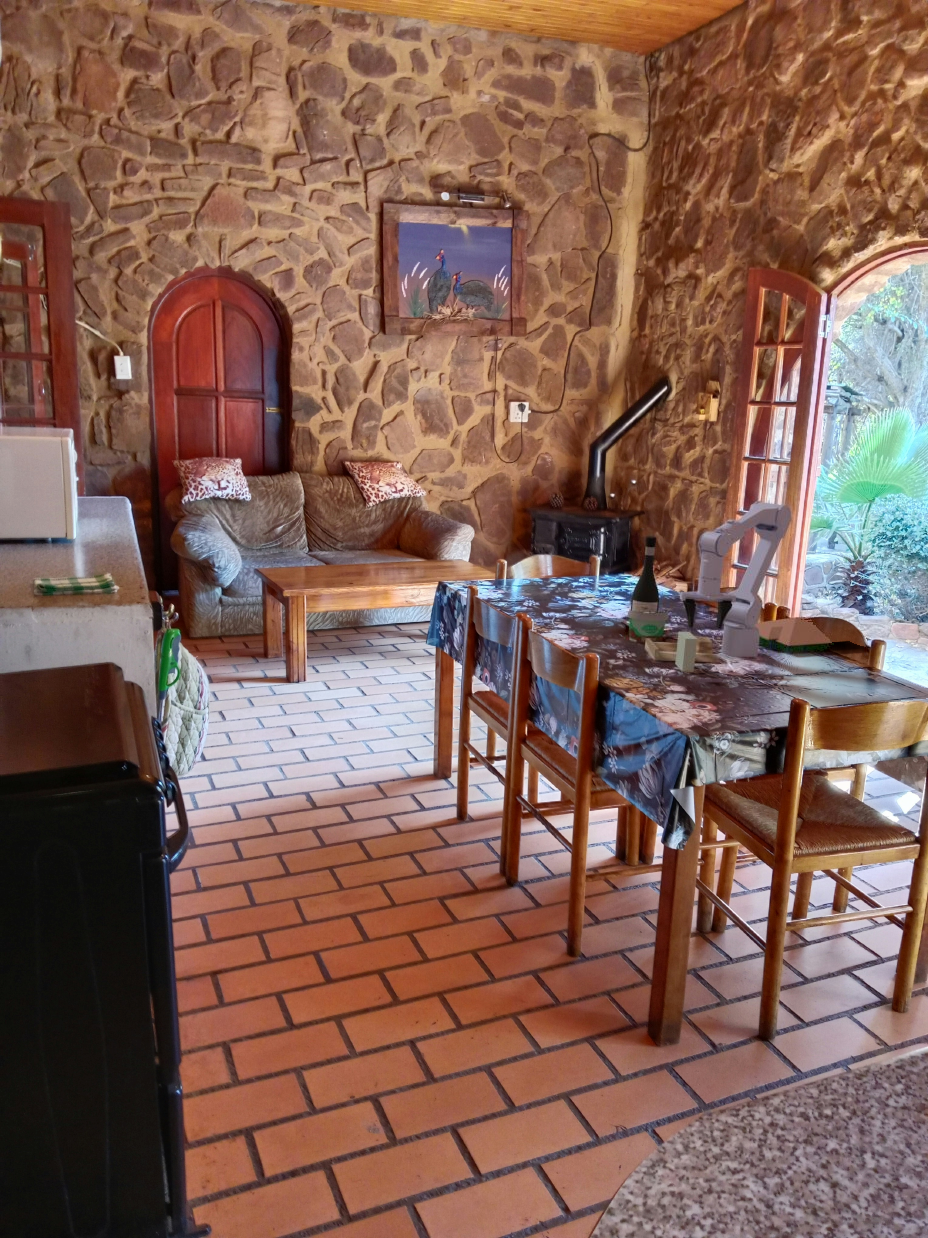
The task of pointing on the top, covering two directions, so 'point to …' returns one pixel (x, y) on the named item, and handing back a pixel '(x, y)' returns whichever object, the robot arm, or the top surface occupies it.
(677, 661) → the pale green block
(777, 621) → the house
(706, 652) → the offcut lower
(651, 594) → the wine bottle
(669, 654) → the rack
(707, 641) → the offcut upper
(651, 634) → the food container
